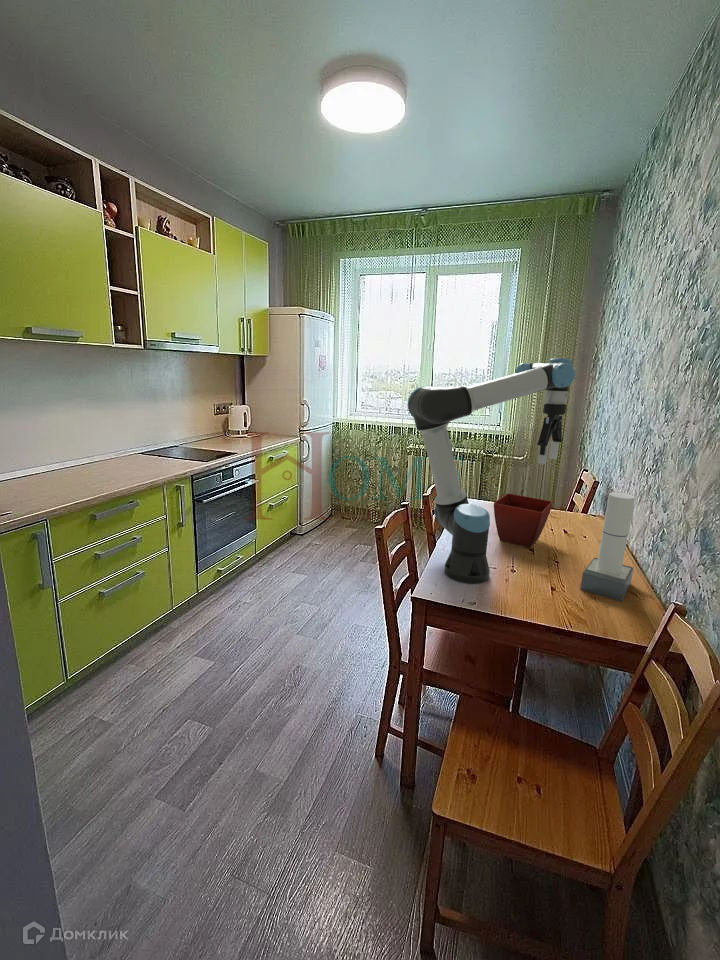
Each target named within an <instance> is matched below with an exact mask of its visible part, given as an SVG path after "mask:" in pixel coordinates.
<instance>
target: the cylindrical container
mask: <svg viewBox="0 0 720 960" xmlns="http://www.w3.org/2000/svg"><path fill="white" fill-rule="evenodd" d="M635 499H636V497H635V496H634V495H632V494H629V493H623V492H613V491H612V492H609V493H608V497H607V504H606V510H605V514H604V520H603V521H604V522H603V527H602V531H601V533H602V534H601V538H600V544H599V550H598V556H597V558H598V561H597V568H598V569H600V570H602V571H604V572H608V573H614V574H617V573H621V570H622V565H624V564H623V563H624V558H625V552H626V549H627V548H626V547H627V544H628V543H627V542H628V537H629V533H630V532H629V531H630V526H631V520H632V516H633V511H634V503H635Z"/></svg>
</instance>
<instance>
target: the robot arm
mask: <svg viewBox="0 0 720 960" xmlns="http://www.w3.org/2000/svg"><path fill="white" fill-rule="evenodd" d="M575 376H576V371H575V368H574V366H573V360H572V359H571V358H566V357H565V358H564V357H563V358H561V357H560V358H559V357H556V358H552V357H551V358H550V359H549V361H548V362H545V363H544V362H522V363H520V364H518V365H517V366H516V368H515V372H514V373H513V374H511V375H506V376H503V377H500V378H495V379H492V380H488V381H485V382H481V383H479V384H474V385H470V386H466V385H463V384H462V385H457V386H453V387H440V386H439V387H438V386H437V387H436V386H432V385H424V386H420V387H417V388H415V389H414V390H412V392H411V393H410V395H409V397H408V399H407V410H408V412H409V414H410V416H411V417H412V418H413V420H414V423H415V428H416V430H417V432H420V433H421V434H422V437H423V442H424V446H425V451H426V453H427V458H428V463H429V465H430V466H429V467H430V470H431V475H432V478H433V482H434V486H435V491H436V496H435V498H434V504H435V506H434V510H433V511H434V517H435V519H436V520H437V522H438V524H439V525H440V527H442V528H444V529H445V530H446V531H447V532H448V533H449V534H450V535H451V536H452V537H451V539H452V540H451V550H450V553H449V555H448V556H447V559H446V561H445V564H444V569H443V570H444V571H443V572H444V574H445V576H447V577H448V578H450V579H451V580H454V581H457V582H461V583H466V584H480V583H485V582H487V581H488V580H489V579H490V566H489V561H488V557H487V549H488V540H489V531H490V525H491V518H490V517H491V516H490V513H489V511H488V510H487V509H485V508H484V507H482V506H480V505H479V506H478V505H477V504H472V503H469V500H468V495H467V492H466V491H464V490H462V488H461V484H460V480H459V474H458V470H457V467H456V462H455V458H454V454H453V448H452V445H451V440H450V436H449V432H448V425H449V424H450V422H451V421H455V420H458V419H462V418H465V417H468V416H470V415H472V413H473V411H476V410H480V409H483V408H487V407H490V406H491V407H492V406H494V405H498V404H501V403H504V402H507V401H511V400H514V399H518V398H522V397H524V396H525V397H526V396H528V395H533V394H536V393H539V392H543V391H545V394H544V403H543V408H542V412H543V414H545V415H547V416H544V418H543V423H542V427H541V431H540V433H539V438H538V441H537V443H536V445H537V446H539V447H538V448H539V451H538V456H537V464H540V465H547V457H548V453H549V460H550V459H552V460H557V459H558V454H559V446H560V443H562V442H563V438H562V436H563V435H562V433H563V431H562V430H563V428H562V427H563V426H562V425H563V424H562V423H563V416H564V415H566V414H567V413H566V411H567V402H568V398H569V397H570V395H571V394H570V393H569V390H570V385H571V384H572V383H573V382H574V380H575V378H576V377H575ZM550 439H552V441H551V442H550ZM549 443H550V449H549V446H548V445H549ZM548 450H549V452H548Z"/></svg>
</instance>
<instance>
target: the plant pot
mask: <svg viewBox="0 0 720 960" xmlns="http://www.w3.org/2000/svg"><path fill="white" fill-rule="evenodd" d="M552 506H553V501H551V500H547V499H542V498H535V497H530V496H525V495H519V494H513V493H506V494H504V495H502V496H501V497H500V498H498V499H497V500H495V501H494V502H493V513H494V514H493V515H494V521H495V527H496V531H497V536H498V539H499V541H501V542H502V543H503V542H504V543H508V544H512V545H516V546H519V547H520V546H521V547H524V548H532V547H533V545H535V543H536V542H537V541H538V540H539V539H540V538H539V537H540V536H541V534H542V532H543V530H544V527H545V526H546V524H547V520H548V517H549V515H550V513H551V509H552Z"/></svg>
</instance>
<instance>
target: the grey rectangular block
mask: <svg viewBox="0 0 720 960" xmlns="http://www.w3.org/2000/svg"><path fill="white" fill-rule="evenodd" d="M597 561H598V557H593V559H592V560H591V561H590V562H589V564H588V565H587V566H586V568H585V569H584V571H583V572H582V576H581V582H580V587H579V588H580V590H581V591H585V592H589V593H590V594H591V593H592V594H595V595H599V596H601V597H605V598H609V599H612V600H615V601H619V602H620V603H621V602H622V603H623V600H624V598H625V596H626V594H627V593H628V590H629V588H630V586H631V583H632V579H633V573H634V566H629V565H624V564H623V565H622V570H621V573H617V574H614V573H608V572H604V571H602V570H600V569H598V568H597Z"/></svg>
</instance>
